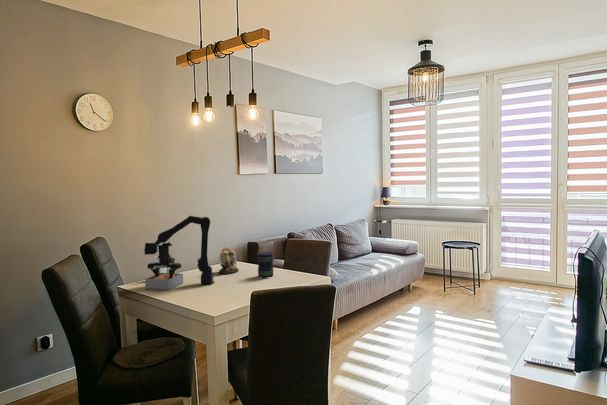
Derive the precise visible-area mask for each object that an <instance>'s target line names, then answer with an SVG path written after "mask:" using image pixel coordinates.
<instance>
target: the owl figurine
mask: <svg viewBox="0 0 607 405" xmlns="http://www.w3.org/2000/svg"><path fill="white" fill-rule="evenodd" d="M236 257H237V256H236V253H235V251H234V250H233V249H231V248H230V247H228V246H225V247H223V248H222V249H221V252H220V255H219V258H220V259H219V260H220V262H221V263H220V266H221V268H220V269H219V270H218V274H219V275H232V274H236V273H238V272H239V268H238V267H237V261H236V260H237V259H236Z"/></svg>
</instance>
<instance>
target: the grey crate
mask: <svg viewBox="0 0 607 405" xmlns="http://www.w3.org/2000/svg"><path fill="white" fill-rule="evenodd" d="M163 274H169V272H168V273H159V276H161V275H163ZM174 275H175V277H173V278H170V279H168V280H167V279H154V278H156V276H155V274H153V275H152V276H149V277H147V278H144V280H145V281H144V284H145V286H144V287H145V290H147V289H149V290H150V291H151V290H152V291H153V290H154V291H170V290H172V289H175V288H177V287H179V286H181V285H183V284H184V273H183V272H182V273H181V272H180V273H176V272H174ZM149 290H148V291H149Z"/></svg>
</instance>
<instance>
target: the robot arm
mask: <svg viewBox="0 0 607 405" xmlns="http://www.w3.org/2000/svg"><path fill="white" fill-rule="evenodd" d="M190 224H196V225H200V230H201V231H200V232H201V240H200V241H201V242H200V243H201V244H200V257H198V258H197V265H196V266H197V268H198V270H199V272H201V274H200V275H201V276H200V282H199V285H205V286H206V285H207V286H208V285H209V286H210V285H213V284H215V281H214V272H213V267H211V266H210V264H209V258H208V244H209V242H208V240H209V230H210V225H211V219H210V217H208V216H194V215H188V216H187V217H186V218H185V219H182V221H179V222H178V223H177V224H176V225H174V226H173V227H171V228H168V229H166V230H164V231H161V232H159V234H158V235H157V240H156V241H155V242H145V244H144V250H143V251H144V255H148V256H149V255H156V254H157V253H158V255H157V257H158V258H159V263H158V262H154V261H152V262H149V263H148V264H147V269H150V271H152V273H153V275H155V276H156V277H158V276H159V270H160V267H168V268H169V269H168V273H169V277H170V278H173V275H174V273H176V271H177V270H179V269H181V268H182V264H181V263H180V262H175V260H176V258H174V257H172V255H171V254H170V247H172V246H173V243H171V242H170V241H168V240H170V239H171V237H173V236H174V235H175V234H176V233H178V232H179V231H181V230H182V229H184V228H186V227H187V226H189V225H190ZM167 241H168V242H167ZM162 265H163V266H162Z"/></svg>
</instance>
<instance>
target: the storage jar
mask: <svg viewBox="0 0 607 405" xmlns="http://www.w3.org/2000/svg"><path fill="white" fill-rule="evenodd" d="M257 263H258V264H257V265H258V266H257V278H259V277H262V278H261V279H268V278H267V277H272V276H273V277H274V252H270V251H263V252H262V251H261V252H257ZM273 277H272V278H273Z"/></svg>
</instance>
